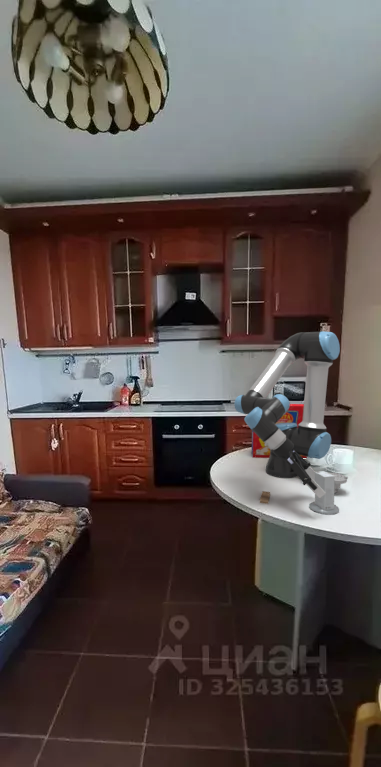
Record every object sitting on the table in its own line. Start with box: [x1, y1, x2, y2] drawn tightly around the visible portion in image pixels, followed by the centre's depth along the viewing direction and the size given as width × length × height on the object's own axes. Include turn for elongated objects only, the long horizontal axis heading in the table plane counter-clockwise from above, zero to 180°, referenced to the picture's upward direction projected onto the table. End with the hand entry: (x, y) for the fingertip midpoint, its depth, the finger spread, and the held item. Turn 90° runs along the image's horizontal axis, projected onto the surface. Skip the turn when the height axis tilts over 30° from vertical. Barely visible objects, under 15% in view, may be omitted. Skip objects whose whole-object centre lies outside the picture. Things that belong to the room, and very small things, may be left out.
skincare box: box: [314, 470, 335, 510], centre depth 131 cm, size 6×4×12 cm
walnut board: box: [259, 490, 271, 505], centre depth 140 cm, size 10×3×1 cm, turn 164°
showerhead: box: [327, 472, 349, 494], centre depth 147 cm, size 9×7×10 cm
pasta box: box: [251, 403, 308, 459], centre depth 196 cm, size 28×8×28 cm, turn 85°
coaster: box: [308, 501, 340, 516], centre depth 132 cm, size 10×10×1 cm
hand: (321, 488), depth 131 cm, fingers open, 13 cm apart
